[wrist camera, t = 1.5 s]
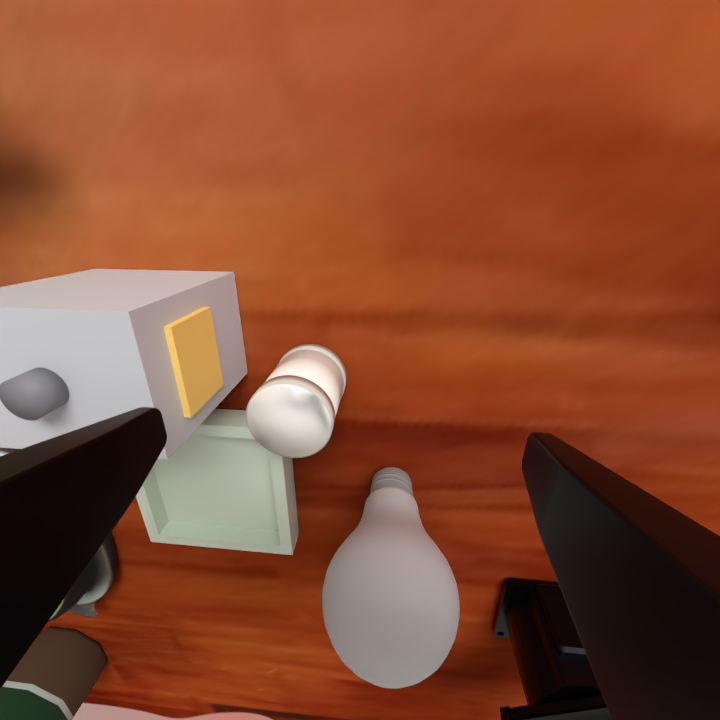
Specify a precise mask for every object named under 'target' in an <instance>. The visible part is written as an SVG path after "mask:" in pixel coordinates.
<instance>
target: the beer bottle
mask: <svg viewBox="0 0 720 720" xmlns="http://www.w3.org/2000/svg"><path fill="white" fill-rule="evenodd" d="M106 662H107V657H106V655H105V653H104V651H103V649H102V647H101V645H100V643H98V642H96V641H95V640H93V639H91V638H89V637H88V636H86V635H84V634H83V633H81V632H79V631H77V630H75V629H67V628H58V627H49V628H48V629H46V630H45V631H44V632H43V633H42V634H40V635H39V636H38V637H37V638H36V639H35V641H34V642H33V644H32V645H31V647H30V648H29V649H28V651H27V652H26V654H25V655H24V656H23V658H22V659H21V661H20V662H19V664H18V665H17V666H16V668H15V669H14V671H13V672H12V674H11V675H10V676H9V678H8V679H7V681H6V682H5V683H4V685H3V686H2V688H1V689H0V720H72V718H73V717H74V715H75V713H76V712H77V711H78V709H79V707H80V706H81V704H82V703H83V701H84V700H85V698H86V696H87V695H88V693H89V692H90V690H91V689H92V687H93V686H94V684H95V682H96V680H97V679H98V677H99V675H100V674H101V672H102V670H103V668H104V667H105V665H106Z"/></svg>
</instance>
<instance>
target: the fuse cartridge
mask: <svg viewBox="0 0 720 720" xmlns="http://www.w3.org/2000/svg"><path fill="white" fill-rule="evenodd" d="M346 382H347V373H346V369H345V366H344V364H343V362H342V360H341V359H340V358H339V357H338V355H337V354H336V353H334V352H333V351H332V350H330V349H329V348H327V347H325V346H322V345H318V344H312V343H307V344H301V345H298V346H295V347H293V348H292V349H290V350H289V351H288V352H287V353H286V354H285V355H284V356H283V358H282V359H281V360H280V362H279V363H278V365H277V367H276V368H275V370H274V371H273V372H272V373H271V375H270V376H269V377H268V379H267V380H266V381H265V382H264V383H263V384H262V385H261V386H260V387H259V388H258V390H257V391H256V392H255V394H254V395H253V396H252V397H251V399H250V401H249V403H248V405H247V409H246V421H247V425H248V428H249V430H250V432H251V434H252V435H253V437H254V438H255V439H256V441H257V442H258V443H259V444H260V445H262V446H263V447H264V448H266V449H267V450H269V451H270V452H272V453H275V454H277V455H280V456H284V457H289V458H302V457H307V456H310V455H313V454H315V453H317V452H318V451H320V450H321V449H322V448H323V447H324V446H325V445H326V444H327V442H328V441H329V439H330V436H331V433H332V430H333V427H334V423H335V416H336V413H337V410H338V406H339V403H340V400H341V397H342V395H343V393H344V390H345V386H346Z"/></svg>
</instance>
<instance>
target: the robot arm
mask: <svg viewBox="0 0 720 720" xmlns="http://www.w3.org/2000/svg"><path fill="white" fill-rule="evenodd" d="M166 442H167V432H166V428H165V425H164V421H163V417H162V413H161V411H160V410H159V409H158V408H152V407H140V408H137V409H134V410H131V411H128V412H125V413H122V414H119V415H117V416H114V417H111V418H108V419H105V420H102V421H99V422H97V423H94V424H91V425H88V426H85V427H82V428H80V429H77V430H74V431H71V432H68V433H65V434H62V435H60V436H57V437H54V438H51V439H48V440H45V441H43V442H40V443H37V444H34V445H31V446H28V447H25V448H23V449H20V450H17V451H14V452H11V453H8V454H5V455H3V456H0V689H1V688H2V686H3V685H4V683H5V682H6V681H7V679H8V678H9V676H10V675H11V674H12V672H13V671H14V669H15V668H16V666H17V665H18V664H19V662H20V661H21V659H22V658H23V656H24V655H25V654H26V652H27V651H28V649H29V648H30V647H31V645H32V644H33V642H34V641H35V639H36V638H37V637H38V635H39V634H40V632H41V631H42V629H43V628H44V627H45V625H46V624H47V622H48V621H49V620H50V618H51V617H52V615H53V614H54V612H55V611H56V610H57V608H58V607H59V605H60V604H61V603H62V601H63V600H64V598H65V597H66V595H67V594H68V593H69V591H70V590H71V588H72V587H73V585H74V584H75V583H76V581H77V580H78V578H79V577H80V576H81V574H82V573H83V571H84V570H85V568H86V567H87V566H88V564H89V563H90V561H91V560H92V558H93V557H94V556H95V554H96V553H97V551H98V550H99V549H100V547H101V546H102V544H103V543H104V541H105V540H106V539H107V537H108V536H109V534H110V533H111V532H112V530H113V529H114V527H115V526H116V524H117V523H118V522H119V520H120V519H121V517H122V516H123V514H124V513H125V512H126V510H127V509H128V507H129V506H130V504H131V503H132V501H133V500H134V498H135V497H136V495H137V493H138V492H139V490H140V489H141V487H142V485H143V483H144V482H145V480H146V478H147V476H148V475H149V473H150V471H151V469H152V468H153V466H154V464H155V462H156V461H157V459H158V457H159V455H160V454H161V452H162V450H163V448H164V447H165V445H166ZM522 471H523V475H524V479H525V482H526V486H527V490H528V494H529V497H530V501H531V505H532V509H533V512H534V516H535V520H536V523H537V527H538V530H539V533H540V536H541V539H542V542H543V544H544V547H545V550H546V552H547V555H548V557H549V560H550V562H551V565H552V568H553V570H554V573H555V575H556V578H557V580H558V583H554V582H544V581H533V580H523V579H507V580H506V581H505V582H504V586H503V590H502V594H501V598H500V602H499V605H498V609H497V613H496V617H495V621H494V625H493V632H494V635H495V636H496V637H500V638H509V639H510V640H511V643H512V647H513V651H514V655H515V658H516V662H517V666H518V670H519V673H520V677H521V681H522V685H523V689H524V692H525V696H526V700H527V704H528V705H526V706H520V707H513V708H510V707H509V706H506V707H500V712H501V720H720V536H718V535H717V534H715V533H713V532H712V531H710V530H709V529H707V528H705V527H704V526H702V525H700V524H699V523H697V522H695V521H694V520H692V519H690V518H689V517H687V516H685V515H684V514H682V513H681V512H679V511H677V510H676V509H674V508H672V507H671V506H669V505H667V504H666V503H664V502H662V501H661V500H659V499H657V498H656V497H654V496H653V495H651V494H649V493H648V492H646V491H644V490H643V489H641V488H639V487H638V486H636V485H634V484H633V483H631V482H629V481H628V480H626V479H625V478H623V477H621V476H620V475H618V474H616V473H615V472H613V471H611V470H610V469H608V468H606V467H605V466H603V465H602V464H600V463H598V462H597V461H595V460H593V459H592V458H590V457H588V456H587V455H585V454H583V453H582V452H580V451H578V450H577V449H575V448H574V447H572V446H570V445H569V444H567V443H565V442H564V441H562V440H560V439H559V438H557V437H555V436H554V435H552V434H550V433H540V432H532V433H531V434H530V435H529V437H528V440H527V443H526V447H525V451H524V455H523V459H522Z"/></svg>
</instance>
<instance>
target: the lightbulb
mask: <svg viewBox="0 0 720 720" xmlns="http://www.w3.org/2000/svg"><path fill="white" fill-rule="evenodd" d="M322 606H323V616H324V623H325V627H326V630H327V632H328V635H329V638H330V640H331V643H332V645H333V647H334V649H335V651H336V652H337V654H338V656H339V657H340V659H341V660H342V662H343V663H344V664H345V665H346V666H347V667H348V668H350V669H351V670H352V671H353V672H354V673H355V674H356V675H357V676H359V677H360V678H362V679H363V680H365V681H368V682H370V683H372V684H374V685H376V686H379V687H384V688H394V689H396V688H403V687H407V686H411V685H415V684H417V683H420V682H421V681H423V680H424V679H426V678H427V677H429V676H430V675H432V674H433V673H434V672H435V671H436V670H437V669H438V668H439V667H440V666H441V664H442V663H443V661H444V660H445V659H446V657H447V655H448V653H449V651H450V649H451V647H452V645H453V643H454V641H455V638H456V633H457V628H458V622H459V611H460V603H459V596H458V590H457V584H456V581H455V578H454V575H453V573H452V570H451V568H450V566H449V564H448V561H447V560H446V558H445V557H444V555H443V554H442V552H441V551H440V550H439V548H438V547H437V545H436V544H435V543H434V541H433V540H432V539H431V538H430V537H429V535H428V534H427V533H426V531H425V529H424V528H423V526H422V523H421V520H420V517H419V511H418V505H417V503H416V501H415V499H414V498H413V490H412V483H411V479H410V477H409V476H408V474H407V473H406V472H404V471H403V470H401V469H399V468H395V467H387V468H383V469H381V470H379V471H378V472H377V473H376V474H375V475H374V477H373V480H372V484H371V490H370V495H369V496H368V498H367V500H366V502H365V506H364V512H363V515H362V518H361V521H360V523H359V524H358V526H357V528H356V529H355V530H354V531H353V532H352V533H351V534H350V535H349V536H348V537H347V538H346V540H345V541H344V542H343V543H342V545H341V546H340V547H339V548H338V550H337V551H336V553H335V554H334V556H333V558H332V560H331V562H330V565H329V567H328V569H327V572H326V576H325V580H324V585H323V590H322Z"/></svg>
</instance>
